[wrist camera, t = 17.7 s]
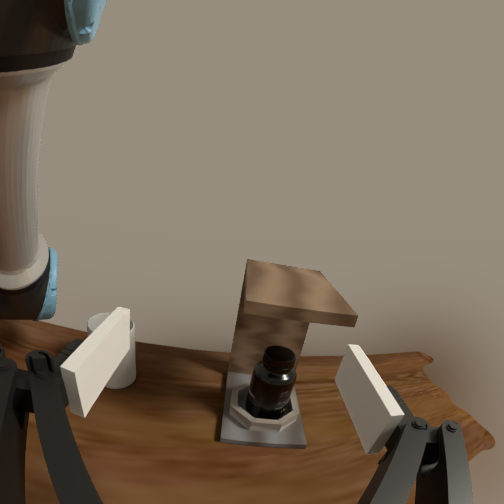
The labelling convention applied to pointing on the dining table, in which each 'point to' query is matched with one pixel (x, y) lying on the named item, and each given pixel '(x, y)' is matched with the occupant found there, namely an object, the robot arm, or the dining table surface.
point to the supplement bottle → (271, 383)
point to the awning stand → (275, 333)
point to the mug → (127, 366)
